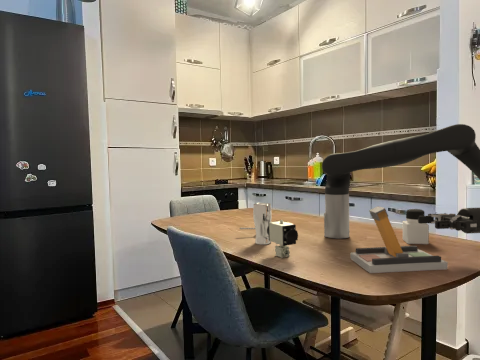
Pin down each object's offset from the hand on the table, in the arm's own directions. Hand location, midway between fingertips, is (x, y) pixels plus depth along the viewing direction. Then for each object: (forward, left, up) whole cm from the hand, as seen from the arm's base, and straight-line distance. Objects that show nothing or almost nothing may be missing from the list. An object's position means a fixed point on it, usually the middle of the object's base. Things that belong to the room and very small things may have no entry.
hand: (426, 222), depth 103 cm
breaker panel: (-8, -5, -12) cm, 15 cm away
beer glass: (-55, +6, -12) cm, 57 cm away
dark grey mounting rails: (-8, -5, -10) cm, 14 cm away
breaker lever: (-8, -5, -9) cm, 13 cm away
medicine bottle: (-3, +26, -12) cm, 29 cm away
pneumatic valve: (-42, -8, -12) cm, 44 cm away
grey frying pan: (-61, +18, -12) cm, 65 cm away
